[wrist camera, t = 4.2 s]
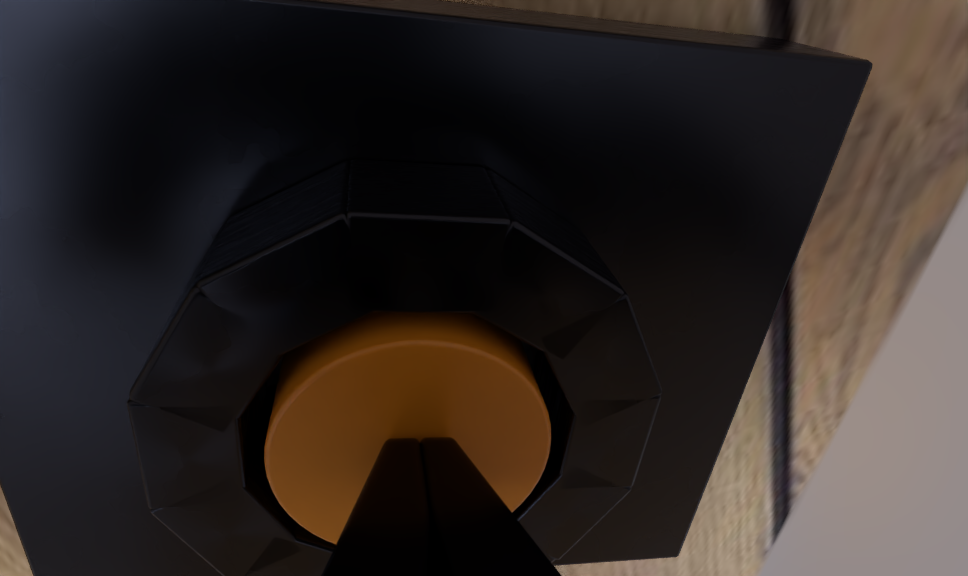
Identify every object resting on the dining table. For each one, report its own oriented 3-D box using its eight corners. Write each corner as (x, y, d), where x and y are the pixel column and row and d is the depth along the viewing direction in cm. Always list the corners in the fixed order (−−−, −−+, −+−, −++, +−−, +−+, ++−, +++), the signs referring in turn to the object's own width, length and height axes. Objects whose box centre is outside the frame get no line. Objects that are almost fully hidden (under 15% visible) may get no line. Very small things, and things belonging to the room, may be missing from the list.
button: (540, 272, 9) (576, 342, 7) (507, 460, 10) (530, 548, 9) (274, 265, 8) (252, 340, 7) (286, 467, 10) (270, 565, 8)
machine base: (781, 38, 10) (995, 89, 7) (639, 479, 15) (721, 641, 11) (-61, -57, 8) (-406, -54, 4) (90, 503, 12) (-15, 716, 9)
